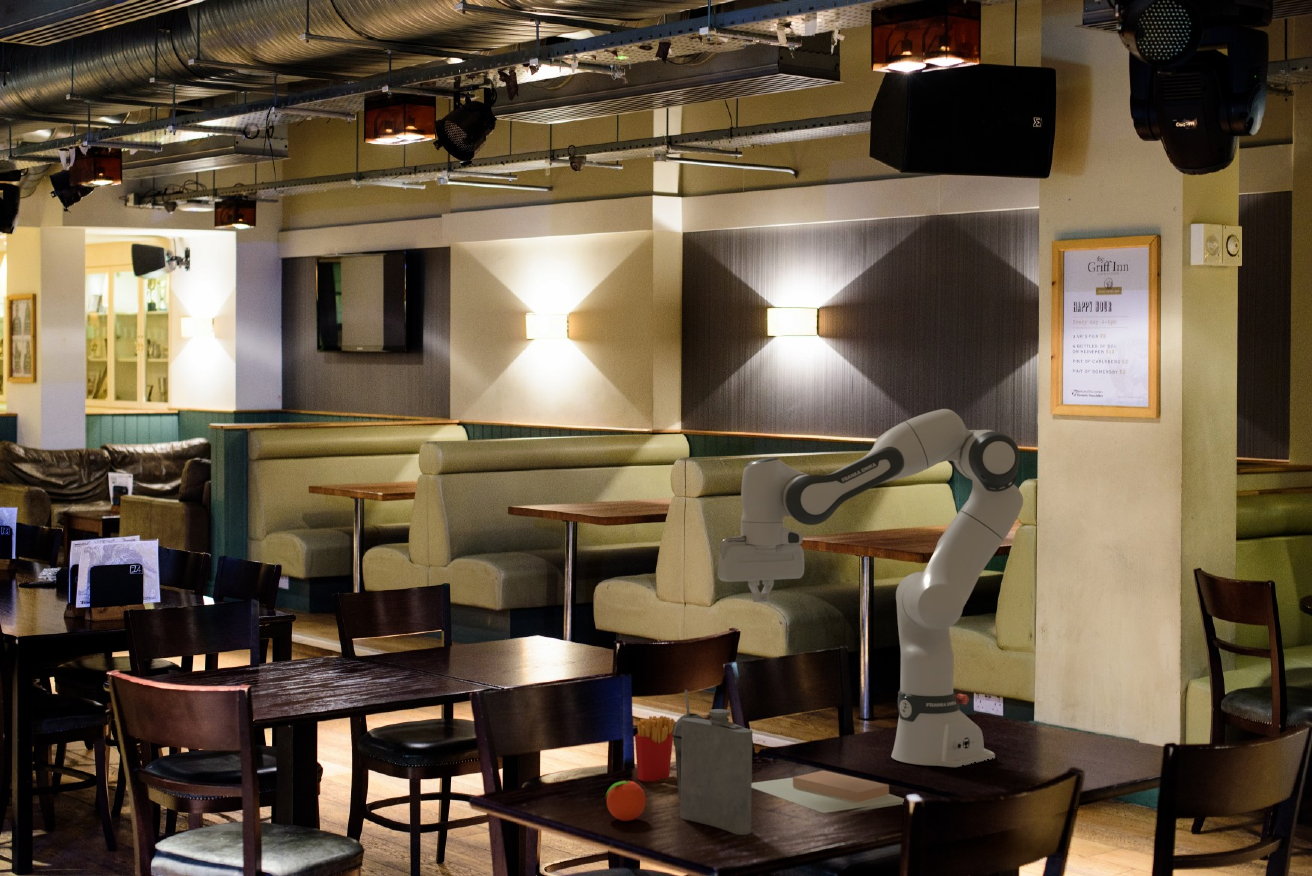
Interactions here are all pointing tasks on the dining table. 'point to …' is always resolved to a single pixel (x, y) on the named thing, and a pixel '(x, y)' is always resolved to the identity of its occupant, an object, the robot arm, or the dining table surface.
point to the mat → (820, 797)
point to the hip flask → (716, 772)
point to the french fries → (654, 748)
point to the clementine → (625, 800)
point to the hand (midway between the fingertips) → (760, 601)
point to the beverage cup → (678, 740)
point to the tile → (841, 786)
